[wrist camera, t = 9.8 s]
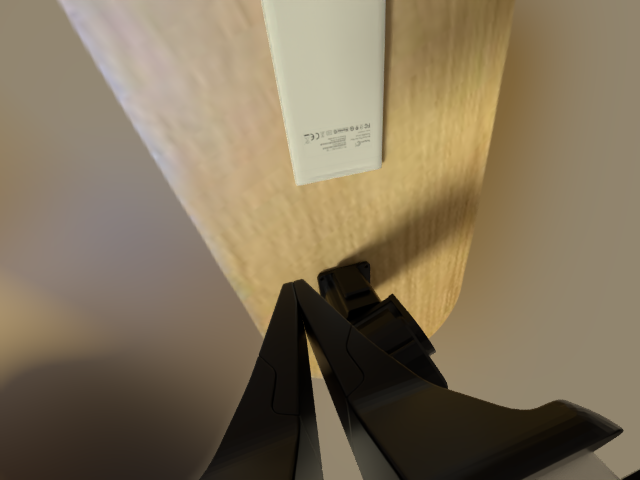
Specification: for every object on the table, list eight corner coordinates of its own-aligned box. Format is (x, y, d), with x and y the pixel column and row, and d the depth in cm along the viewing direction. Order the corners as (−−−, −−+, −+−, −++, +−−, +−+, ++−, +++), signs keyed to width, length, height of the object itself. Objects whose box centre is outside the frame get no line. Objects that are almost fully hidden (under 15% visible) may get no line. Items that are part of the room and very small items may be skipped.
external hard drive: (376, -18, 16) (375, 164, 22) (257, -10, 14) (293, 181, 21) (388, -30, 14) (383, 168, 21) (258, -21, 13) (297, 186, 20)
